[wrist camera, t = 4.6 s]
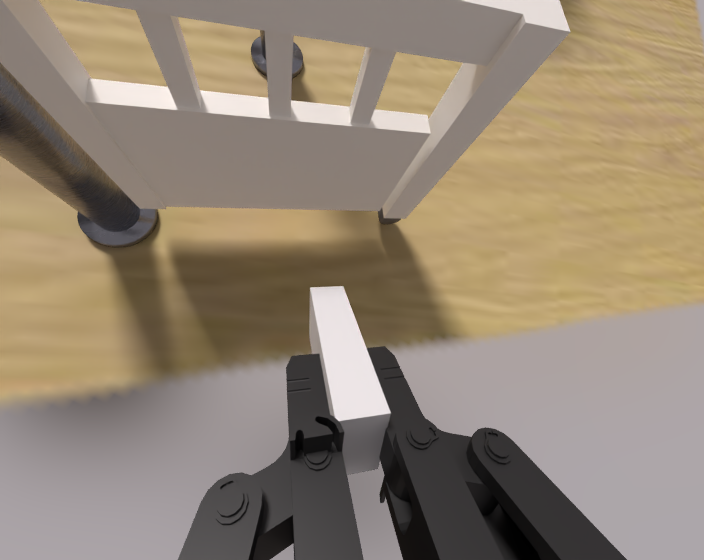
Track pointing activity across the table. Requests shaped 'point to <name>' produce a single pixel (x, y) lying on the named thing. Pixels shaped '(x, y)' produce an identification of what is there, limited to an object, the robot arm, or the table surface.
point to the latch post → (260, 56)
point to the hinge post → (67, 169)
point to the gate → (286, 101)
